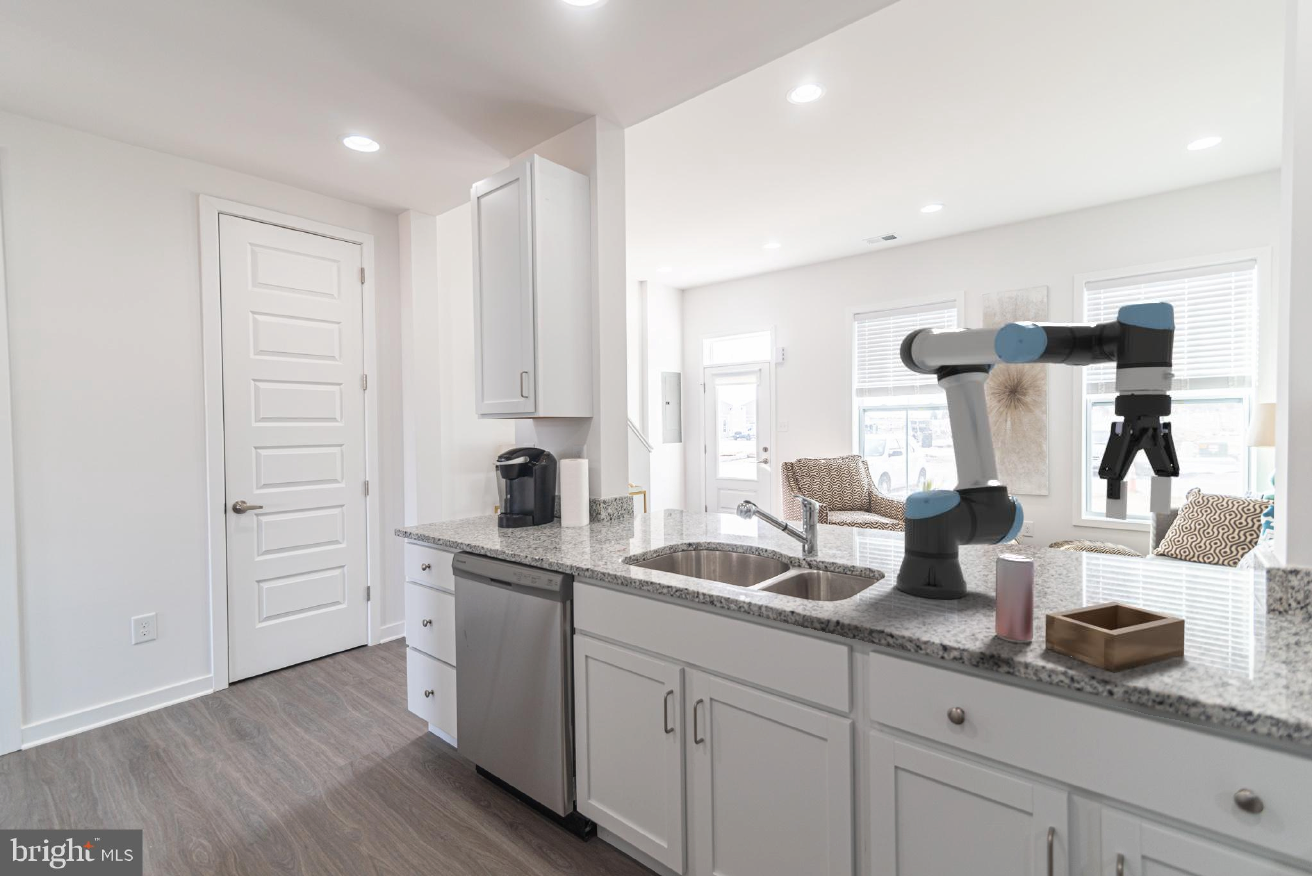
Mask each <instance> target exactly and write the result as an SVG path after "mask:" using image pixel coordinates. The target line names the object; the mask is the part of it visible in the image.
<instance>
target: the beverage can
mask: <svg viewBox="0 0 1312 876" xmlns="http://www.w3.org/2000/svg"><path fill="white" fill-rule="evenodd" d="M995 563H996V564H995V617H994V618H995V621H994V622H995V623H994V626H995V627H994V628H995V629H994V631H995V633H996V635H997V637H998V638H999V639H1001V640H1004V641H1006V642H1009V643H1010V642H1011V643H1015V642H1017V643H1016V644H1027V643H1028V644H1029V643H1030V642H1032V640H1033V638H1034V612H1035V611H1034V609H1035V607H1034V605H1035V604H1034V603H1035V602H1034V601H1035V600H1034V599H1035V563H1034V559H1033V557H1031V556H1028V555H1022V554H1016V553H1000V554H997V558H996V561H995Z"/></svg>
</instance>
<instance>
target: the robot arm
mask: <svg viewBox="0 0 1312 876" xmlns="http://www.w3.org/2000/svg"><path fill="white" fill-rule="evenodd" d="M1174 310H1175V309H1174V306H1173V305H1172V303H1170V302H1167V301H1146V302H1145V301H1144V302H1135V303H1134V302H1133V303H1130V304H1126V305H1124V306H1121V307H1119V308H1118V311H1117V316H1116V317H1115V318H1116V319H1115V320H1110V321H1105V322H1104V321H1102V322H1097V323H1076V322H1074V323H1072V322H1071V323H1069V322H1068V323H1067V322H1064V323H1063V322H1056V323H1055V322H1036V321H1029V320H1027V321H1024V320H1023V321H1022V320H1021V321H1016V322H1015V321H1014V322H1013V321H1012V322H1009V323H1007V324H1006V323H1005V324H1004V325H998V326H997V325H996V326H988V327H980V328H968V327H963V328H950V327H949V328H943V327H942V328H939V327H923V328H918V329H915V330H913V331H911V332H910V333H908V334H907V335H906V336H905V337H904V339H903V340H902V342H901V344H900V347H899V357H900V361H901V362H902V364H903V365H904V366H905V367H906V368H907V369H908V370H910V371H912V372H914V373H917V374H920V375H921V374H922V375H936V379H937V385H938V386H939V387H940V388H942V389H943V390H945V396H946V402H947V403H946V404H947V410H948V411H947V412H948V418H949V423H950V432H951V438H952V446H953V452H954V453H953V454H954V458H955V466H956V474H957V479H958V482H957V484H956V486H955V487H954V488H953V489H952V490H950V489H936V490H934V489H931V490H922V491H918V492H917V491H916V492H914V493H911V494H909V495H908V496H907V497H906V498H905V502H904V503H905V504H904V511H903V515H904V552H903V553H904V555H903V558H902V562H901V565H900V567H899V573H897V575H896V580H895V581H896V582H895V583H896V584H895V585H896V588H897V590H899V591H900V592H901V591H902V592H904V593H905V594H909V595H912V596H916V597H921V598H922V597H923V598H929V599H936V600H937V599H938V600H939V599H940V600H942V599H943V600H952V599H954V600H955V599H960V598H964V597H966V596H967V595H968V590H967V589H968V588H967V587H968V586H967V582H966V581H965V579H964V575H963V574H964V573H963V569H962V567H961V563H960V561H959V552H960V549H959V547H960V546H973V545H974V546H978V545H979V546H980V545H981V546H982V545H989V546H994V545H999V544H1007V543H1009V542H1012V541H1013V540H1015V539H1016V538H1017V537H1018V535H1019V534H1020V533H1021V531H1022V529H1023V525H1024V520H1025V519H1024V518H1025V516H1024V514H1025V513H1024V508H1023V506H1022V505H1021V503H1020V502H1019V501H1018V499H1017V497H1015V496H1012V494H1009V490H1008V486H1007V484H1005V483H1004V482H1003V481H1001V480H1000V479H999V473H998V467H997V462H996V456H995V450H994V449H995V448H994V443H993V436H992V430H991V423H990V416H989V411H988V403H987V398H986V397H987V396H986V391H985V383H986V381H988V379H989V378H990V373H991V371H992V370H993V369H994V368H995V366H996V365H999V364H1001V365H1003V364H1005V365H1006V364H1013V365H1014V364H1017V365H1018V364H1019V365H1020V364H1055V365H1056V364H1059V365H1061V364H1063V365H1066V366H1073V367H1074V366H1075V367H1078V366H1082V367H1086V366H1089V365H1097V364H1105V363H1116V364H1115V367H1116V368H1115V385H1114V386H1115V387H1114V388H1115V390H1114V391H1115V392H1116V393H1119V394H1118V395H1116V397H1115V398H1114V414H1115V416H1116V417H1123V421H1111V424H1110V433H1109V437H1108V440H1107V443H1106V445H1105V446H1106V447H1105V450H1104V453H1103V456H1102V459H1101V461H1100V465H1099V468H1098V472H1097V474H1098V475H1097V476H1098V477H1099V479H1100V480H1106V495H1105V496H1106V500H1105V502H1106V503H1105V518H1107V519H1113V520H1114V519H1115V520H1121V521H1125V520H1127V513H1128V512H1127V509H1128V507H1127V506H1128V504H1127V503H1128V482H1129V481H1128V480H1125V478H1126V477H1127V474H1128V472H1129V470H1130V468H1131V466H1132V464H1133V462H1134V460H1135V457H1136V456H1137V454H1138V452H1139V451H1142V450H1143V451H1144V454H1145V455H1146V456H1145V457H1146V459H1148V462H1149V465H1150V467H1151V469H1152V471H1153V474H1154V475H1151V476H1150V500H1149V501H1150V502H1149V513H1155V514H1157V513H1158V514H1164V515H1171V508H1172V507H1171V506H1172V502H1171V501H1172V480H1173V479H1172V477H1173V478H1179V476H1180V471H1181V470H1180V463H1179V460H1178V456H1177V451H1176V448H1175V447H1176V446H1175V443H1174V438H1173V435H1172V422H1171V421H1166V420H1165V421H1164V420H1163V421H1161V417H1170V415H1171V413H1172V396H1171V395H1170V394H1167V392H1169V391H1171V390H1172V388H1173V387H1172V385H1173V384H1172V383H1173V382H1172V381H1173V379H1174V378H1175V377H1176V376H1175V373H1173V350H1174V348H1173V347H1174V341H1175V329H1176V325H1175V311H1174Z"/></svg>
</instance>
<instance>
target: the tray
mask: <svg viewBox="0 0 1312 876" xmlns="http://www.w3.org/2000/svg"><path fill="white" fill-rule="evenodd" d="M1185 622H1186V620H1185V619H1184V618H1179V617H1175V616H1172V615H1168V614H1164V613H1159V612H1156V611H1153V610H1148V609H1144V608H1141V607H1136V606H1132V605H1129V604H1124V603H1121V602H1118V601H1117V602H1116V601H1110V602H1106V603H1100V604H1095V605H1088V606H1083V607H1082V606H1081V607H1077V608H1072V609H1066V610H1062V611H1056V612H1050V613H1047V614H1046V613H1045V638H1044V639H1045V640H1044V641H1045V642H1044V643H1045V644H1044V645H1045V646H1044V647H1045V649H1047V650H1049V649H1051V650H1050V651H1052V650H1053V652H1055V651H1057V652H1056V653H1059V654H1061V653H1062V654H1061V655H1064V656H1066V655H1068V656H1067V657H1069V656H1072V657H1073V659H1075V658H1077V659H1076V660H1078V659H1079V661H1080V660H1083V661H1084V663H1086V662H1087V663H1086V664H1089V665H1091V666H1094V665H1095V667H1097V668H1099V669H1102V670H1106V671H1108V672H1111V673H1117V672H1121V671H1125V670H1129V669H1133V668H1137V667H1140V666H1141V667H1142V666H1145V665H1149V664H1152V662H1153V663H1156V662H1161V661H1164V660H1168V658H1169V659H1171V658H1176V657H1180V656H1183V655H1185V627H1186V626H1185V625H1186V623H1185ZM1072 657H1071V658H1072ZM1160 660H1161V661H1160ZM1083 661H1082V662H1083Z"/></svg>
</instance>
